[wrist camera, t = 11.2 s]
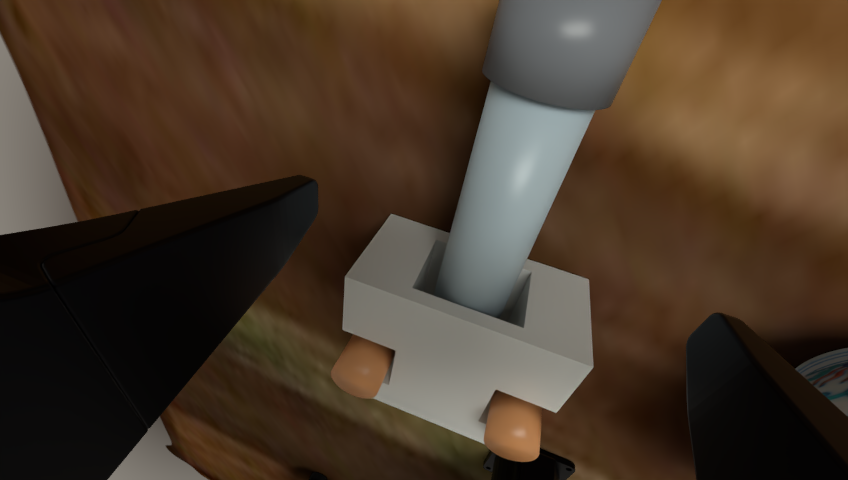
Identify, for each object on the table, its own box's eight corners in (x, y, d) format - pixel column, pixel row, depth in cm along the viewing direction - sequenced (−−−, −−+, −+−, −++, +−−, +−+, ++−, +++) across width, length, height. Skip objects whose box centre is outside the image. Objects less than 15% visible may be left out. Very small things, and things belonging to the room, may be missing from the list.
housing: (528, 375, 27) (519, 458, 23) (376, 318, 29) (339, 384, 24) (588, 279, 21) (593, 367, 16) (391, 213, 23) (344, 276, 18)
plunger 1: (392, 368, 23) (375, 404, 21) (350, 351, 23) (330, 386, 21) (397, 340, 21) (380, 378, 19) (352, 323, 22) (331, 358, 20)
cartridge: (507, 301, 23) (495, 363, 19) (435, 276, 23) (411, 331, 20) (648, -6, 13) (677, 6, 9) (517, -34, 13) (497, -35, 10)
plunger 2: (532, 423, 22) (528, 468, 20) (485, 405, 22) (477, 447, 20) (550, 399, 20) (547, 445, 18) (499, 380, 20) (492, 423, 18)
